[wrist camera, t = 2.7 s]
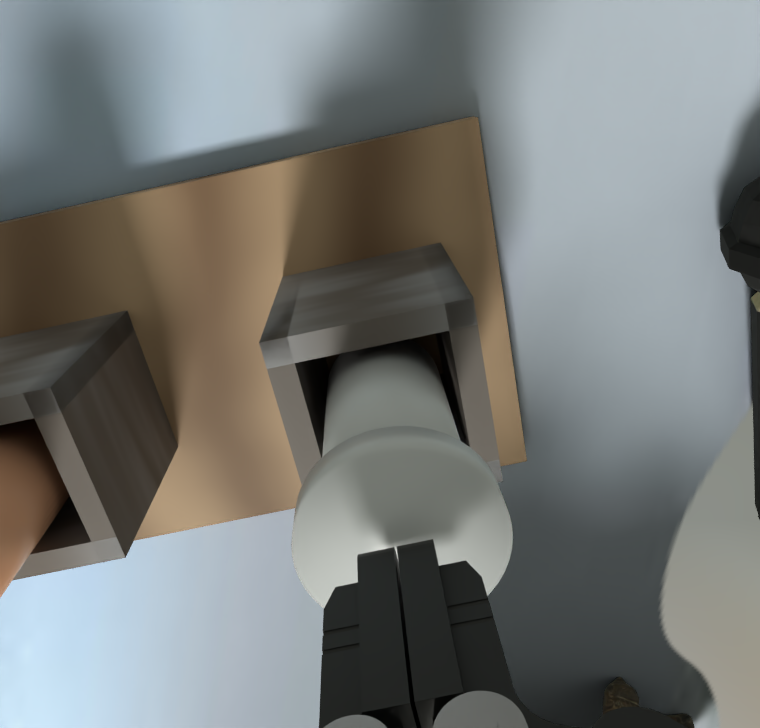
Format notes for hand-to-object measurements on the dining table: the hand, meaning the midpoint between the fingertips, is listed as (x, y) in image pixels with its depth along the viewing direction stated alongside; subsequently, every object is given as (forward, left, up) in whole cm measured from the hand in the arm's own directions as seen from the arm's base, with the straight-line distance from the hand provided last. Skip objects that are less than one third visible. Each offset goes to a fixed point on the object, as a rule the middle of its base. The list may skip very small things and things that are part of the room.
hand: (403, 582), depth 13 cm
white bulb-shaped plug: (0, 0, -9) cm, 9 cm away
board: (+6, 0, -15) cm, 16 cm away
